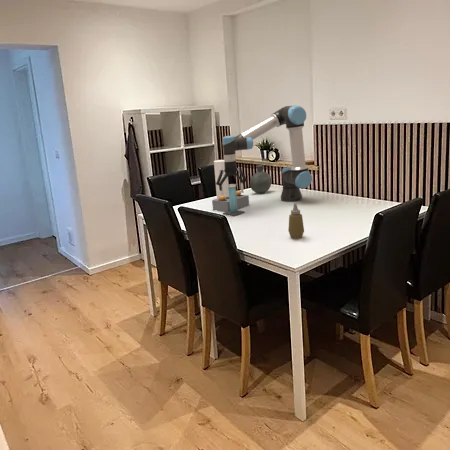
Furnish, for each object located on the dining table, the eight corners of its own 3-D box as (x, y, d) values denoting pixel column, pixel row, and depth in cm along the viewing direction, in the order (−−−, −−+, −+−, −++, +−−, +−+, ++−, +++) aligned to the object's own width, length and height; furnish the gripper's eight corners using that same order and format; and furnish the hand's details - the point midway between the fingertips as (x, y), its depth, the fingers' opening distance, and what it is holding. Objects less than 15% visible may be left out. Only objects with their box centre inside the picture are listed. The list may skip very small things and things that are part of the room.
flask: (250, 192, 349) (248, 165, 343) (271, 191, 349) (270, 163, 343) (251, 195, 338) (249, 167, 332) (273, 193, 337) (271, 165, 332)
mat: (244, 212, 287) (244, 211, 287) (234, 216, 280) (234, 214, 280) (233, 211, 294) (233, 209, 293) (223, 214, 287) (223, 213, 286)
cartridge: (236, 210, 290) (234, 183, 285) (238, 212, 285) (237, 184, 280) (228, 211, 288) (226, 184, 283) (231, 213, 283) (229, 186, 279)
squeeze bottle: (287, 235, 231) (285, 202, 226) (302, 234, 232) (301, 201, 227) (290, 240, 223) (289, 205, 219) (306, 238, 224) (305, 204, 219)
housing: (249, 205, 307) (248, 195, 305) (228, 212, 291) (227, 202, 290) (234, 203, 316) (233, 193, 314) (212, 210, 301) (212, 200, 299)
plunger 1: (228, 208, 298) (227, 195, 296) (223, 210, 295) (222, 196, 292) (223, 207, 301) (222, 194, 299) (218, 209, 298) (217, 196, 295)
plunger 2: (243, 203, 309) (242, 190, 307) (239, 204, 306) (238, 192, 304) (238, 202, 312) (237, 190, 310) (234, 204, 309) (233, 191, 307)
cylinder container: (228, 201, 324) (225, 160, 316) (215, 201, 326) (212, 161, 318) (230, 198, 333) (227, 158, 325) (218, 199, 335) (215, 159, 327)
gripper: (212, 163, 271) (215, 197, 276) (250, 159, 278) (252, 192, 283) (209, 162, 278) (212, 195, 283) (246, 158, 285) (248, 190, 290)
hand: (232, 194), depth 283 cm, fingers open, 13 cm apart
